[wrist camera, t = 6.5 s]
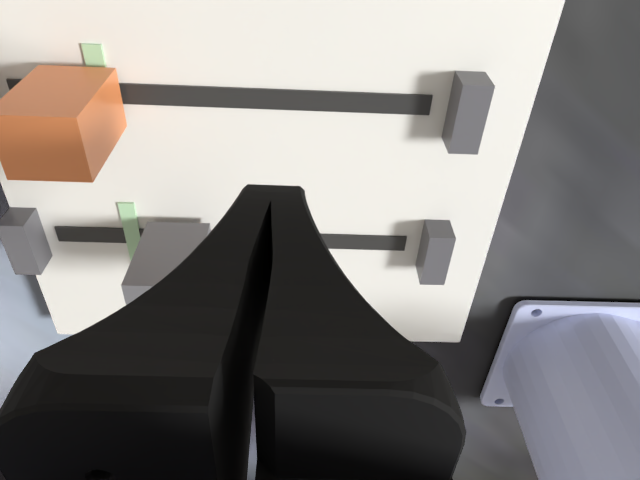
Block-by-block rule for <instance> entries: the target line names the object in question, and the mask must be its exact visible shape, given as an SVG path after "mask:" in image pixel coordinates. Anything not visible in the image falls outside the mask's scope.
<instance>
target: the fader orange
mask: <svg viewBox="0 0 640 480" xmlns="http://www.w3.org/2000/svg"><path fill="white" fill-rule="evenodd" d="M126 127H127V122H126V117H125V112H124V107H123V102H122V97H121V91H120V86H119V81H118V76H117V71H116V68H107V67H81V66H56V65H38V66H37V67H36V68H34V69H33V70H32V71H31V72H30V73H29V74H28V75H27V76H25V77H24V78H23V79H22V80H21V81H20V82H19V83H18V84H17V85H15V86H14V87H13V88H12V89H11V90H10V91H9V92H8V93H6V94H5V95H4V96H3V97H2V98H1V99H0V162H1V164H2V167H3V170H4V173H5V175H6V178H7V180H24V181H56V182H88V183H93V182H94V180H95V178H96V177H97V175H98V173H99V172H100V170H101V168H102V167H103V165H104V164H105V162H106V160H107V159H108V157H109V155H110V154H111V152H112V150H113V149H114V147H115V145H116V144H117V142H118V140H119V139H120V137H121V135H122V134H123V132H124V130H125V129H126Z"/></svg>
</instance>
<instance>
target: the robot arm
mask: <svg viewBox="0 0 640 480" xmlns="http://www.w3.org/2000/svg"><path fill="white" fill-rule="evenodd" d="M535 309H537V310H535ZM533 310H535V311H533ZM253 398H254V404H255V424H256V444H257V466H256V477H255V480H453V479H452V476H453V473H454V470H455V468H456V465H457V462H458V460H459V457H460V454H461V452H462V449H463V446H464V443H465V436H466V429H465V425H464V420H463V416H462V413H461V409H460V407H459V404H458V401H457V399H456V396H455V394H454V392H453V389H452V387H451V384H450V382H449V380H448V378H447V376H446V374H445V372H444V370H443V368H442V366H441V364H440V363H439V362H438V361H436V360H435V359H433V358H432V357H431V356H429V355H428V354H427V353H425V352H424V351H422V350H421V349H420V348H418V347H417V346H415V345H414V344H413V343H411V342H410V341H409V340H407V339H406V338H405V337H403V336H402V335H401V334H400V333H399V332H398V331H396V330H395V329H394V328H393V327H392V326H391V325H390V324H389V323H388V322H387V321H386V320H385V319H384V318H383V317H382V316H381V315H380V314H379V313H378V312H377V311H376V310H375V309H374V308H373V307H372V306H371V305H370V304H369V303H368V302H367V301H366V300H365V299H364V298H363V296H362V295H361V294H360V293H359V292H358V291H357V289H356V288H355V287H354V286H353V284H352V283H351V282H350V281H349V279H348V278H347V277H346V275H345V274H344V272H343V271H342V270H341V268H340V267H339V265H338V264H337V262H336V261H335V259H334V257H333V256H332V254H331V253H330V251H329V249H328V247H327V246H326V244H325V242H324V240H323V238H322V236H321V234H320V232H319V230H318V228H317V226H316V224H315V222H314V220H313V218H312V215H311V212H310V210H309V207H308V204H307V201H306V196H305V190H304V189H303V188H302V187H301V186H285V185H256V184H247V185H246V186H245V187H244V188H243V189H242V190H241V192H240V194H239V195H238V197H237V198H236V200H235V201H234V203H233V204H232V205H231V207H230V208H229V209H228V211H227V212H226V213H225V215H224V216H223V217H222V219H221V220H220V221H219V222H218V223H217V225H216V226H215V227H214V228H213V230H212V231H211V232H210V233H209V234H208V235H207V237H206V238H205V239H204V240H203V241H202V242H201V243H200V244H199V245H198V246H197V247H196V248H195V249H194V250H193V251H192V252H191V254H190V255H189V256H188V257H187V258H185V259H184V260H183V261H182V262H181V263H180V264H179V265H178V266H177V267H176V268H175V269H174V270H172V271H171V272H170V273H169V274H168V275H167V276H165V277H164V278H163V279H162V280H161V281H159V282H158V283H157V284H155V285H154V286H153V287H151V288H150V289H149V290H147V291H146V292H144V293H143V294H142V295H140V296H139V297H137V298H136V299H135V300H133V301H132V302H130V303H129V304H127V305H126V306H124V307H123V308H121V309H119V310H118V311H116V312H114V313H113V314H111V315H109V316H108V317H106V318H104V319H102V320H101V321H99V322H97V323H95V324H94V325H92V326H90V327H88V328H86V329H84V330H82V331H80V332H78V333H76V334H74V335H72V336H70V337H68V338H66V339H64V340H62V341H60V342H57V343H55V344H53V345H51V346H49V347H47V348H45V349H43V350H40V351H38V352H36V353H34V355H33V356H32V358H31V359H30V361H29V362H28V364H27V365H26V367H25V368H24V369H23V371H22V372H21V374H20V375H19V377H18V378H17V380H16V382H15V383H14V385H13V387H12V388H11V390H10V392H9V394H8V396H7V398H6V400H5V401H4V403H3V405H2V407H1V409H0V470H1V472H2V473H3V475H4V477H5V478H6V480H247V470H248V457H249V445H250V433H251V421H252V409H253ZM480 400H481V403H482V404H483V405H485V406H508V407H514V410H515V413H516V416H517V419H518V422H519V424H520V427H521V430H522V433H523V436H524V439H525V442H526V445H527V448H528V451H529V454H530V456H531V459H532V462H533V465H534V468H535V471H536V474H537V477H538V480H640V303H627V302H585V301H544V300H523V301H520V302H518V303H517V304H515V306H514V307H513V310H512V313H511V315H510V318H509V320H508V323H507V326H506V328H505V331H504V334H503V336H502V339H501V342H500V344H499V347H498V350H497V352H496V355H495V358H494V360H493V363H492V365H491V368H490V371H489V373H488V376H487V379H486V381H485V384H484V387H483V389H482V392H481V395H480Z"/></svg>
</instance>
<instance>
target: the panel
mask: <svg viewBox="0 0 640 480" xmlns="http://www.w3.org/2000/svg"><path fill="white" fill-rule="evenodd" d="M564 2H565V0H0V99H1V98H2V97H3V96H4V95H5V94H6V93H8V92H9V91H10V90H11V89H12V88H13V87H14V86H15V85H17V84H18V83H19V82H20V81H21V80H22V79H23V78H24V77H25V76H27V75H28V74H29V73H30V72H31V71H32V70H33V69H34V68H36V67H37V66H38V65H56V66H81V67H107V68H116V71H117V76H118V81H119V86H120V91H121V97H122V102H123V107H124V112H125V117H126V122H127V127H126V129H125V130H124V132H123V134H122V135H121V137H120V139H119V140H118V142H117V144H116V145H115V147H114V149H113V150H112V152H111V154H110V155H109V157H108V159H107V160H106V162H105V164H104V165H103V167H102V168H101V170H100V172H99V173H98V175H97V177H96V178H95V180H94V182H93V183H88V182H56V181H24V180H7V178H6V175H5V173H4V170H3V167H2V164H1V162H0V183H1V185H2V188H3V190H4V193H5V196H6V198H7V201H8V204H9V206H10V207H9V209H8V210H7V211H6V213H5V214H4V215H3V216H2V218H1V219H0V238H1V241H2V243H3V246H4V248H5V251H6V253H7V255H8V258H9V260H10V263H11V265H12V268H13V270H14V272H15V274H17V275H36V277H37V280H38V283H39V285H40V288H41V290H42V293H43V296H44V298H45V301H46V304H47V306H48V309H49V312H50V314H51V317H52V319H53V322H54V325H55V327H56V330H57V333H58V334H76V333H78V332H80V331H82V330H84V329H86V328H88V327H90V326H92V325H94V324H95V323H97V322H99V321H101V320H102V319H104V318H106V317H108V316H109V315H111V314H113V313H114V312H116V311H118V310H119V309H121V308H123V307H124V306H126V303H125V299H124V295H123V291H122V287H121V284H122V282H123V279H124V277H125V274H126V272H127V270H128V267H129V265H130V262H131V260H132V257H133V255H134V253H135V250H136V248H137V245H138V243H139V240H140V238H141V236H142V233H143V231H144V228H145V226H146V223H147V221H150V222H185V223H210V228H211V231H212V230H213V228H214V227H215V226H216V225H217V223H218V222H219V221H220V220H221V219H222V217H223V216H224V215H225V213H226V212H227V211H228V209H229V208H230V207H231V205H232V204H233V203H234V201H235V200H236V198H237V197H238V195H239V194H240V192H241V190H242V189H243V188H244V187H245V186H246V185H247V184H256V185H285V186H301V187H302V188H303V189H304V190H305V196H306V201H307V204H308V207H309V210H310V212H311V215H312V218H313V220H314V222H315V224H316V226H317V228H318V230H319V232H320V234H321V236H322V238H323V240H324V242H325V244H326V246H327V247H328V249H329V251H330V253H331V254H332V256H333V257H334V259H335V261H336V262H337V264H338V265H339V267H340V268H341V270H342V271H343V272H344V274H345V275H346V277H347V278H348V279H349V281H350V282H351V283H352V284H353V286H354V287H355V288H356V289H357V291H358V292H359V293H360V294H361V295H362V296H363V298H364V299H365V300H366V301H367V302H368V303H369V304H370V305H371V306H372V307H373V308H374V309H375V310H376V311H377V312H378V313H379V314H380V315H381V316H382V317H383V318H384V319H385V320H386V321H387V322H388V323H389V324H390V325H391V326H392V327H393V328H394V329H395V330H396V331H398V332H399V333H400V334H401V335H402V336H403V337H405V338H406V339H407V340H409V341H419V342H460V340H461V337H462V333H463V330H464V327H465V324H466V320H467V317H468V314H469V311H470V307H471V304H472V301H473V298H474V294H475V291H476V288H477V285H478V281H479V278H480V275H481V272H482V268H483V265H484V262H485V259H486V255H487V252H488V249H489V246H490V242H491V239H492V236H493V233H494V229H495V226H496V223H497V220H498V216H499V213H500V210H501V207H502V204H503V200H504V197H505V194H506V191H507V187H508V184H509V181H510V178H511V174H512V171H513V168H514V165H515V161H516V158H517V155H518V152H519V148H520V145H521V142H522V139H523V135H524V132H525V129H526V126H527V122H528V119H529V116H530V113H531V109H532V106H533V103H534V100H535V96H536V93H537V90H538V87H539V83H540V80H541V77H542V74H543V70H544V67H545V64H546V61H547V57H548V54H549V51H550V48H551V44H552V41H553V38H554V35H555V31H556V28H557V25H558V22H559V18H560V15H561V12H562V9H563V5H564Z"/></svg>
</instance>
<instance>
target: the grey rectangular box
mask: <svg viewBox="0 0 640 480" xmlns="http://www.w3.org/2000/svg"><path fill="white" fill-rule="evenodd" d="M210 232H211V228H210V223H185V222H150V221H147V223H146V226H145V228H144V231H143V233H142V236H141V238H140V240H139V243H138V245H137V248H136V250H135V253H134V255H133V257H132V260H131V262H130V265H129V267H128V270H127V272H126V274H125V277H124V279H123V282H122V284H121V287H122V291H123V295H124V299H125V303H126V305H127V304H129V303H130V302H132V301H133V300H135V299H136V298H137V297H139V296H140V295H142V294H143V293H144V292H146V291H147V290H149V289H150V288H151V287H153V286H154V285H155V284H157V283H158V282H159V281H161V280H162V279H163V278H164V277H165V276H167V275H168V274H169V273H170V272H171V271H172V270H174V269H175V268H176V267H177V266H178V265H179V264H180V263H181V262H182V261H183V260H184V259H185V258H187V257H188V256H189V255H190V254H191V252H192V251H193V250H194V249H195V248H196V247H197V246H198V245H199V244H200V243H201V242H202V241H203V240H204V239H205V238H206V237H207V235H208V234H209V233H210Z"/></svg>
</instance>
